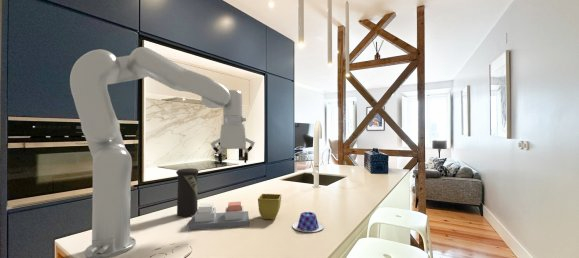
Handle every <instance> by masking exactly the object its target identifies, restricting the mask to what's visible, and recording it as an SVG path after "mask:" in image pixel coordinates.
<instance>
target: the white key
mask: <svg viewBox="0 0 579 258" xmlns="http://www.w3.org/2000/svg"><path fill="white" fill-rule="evenodd" d="M213 208H214V202H208V203H207V202H206V203H199V205H198V213H213Z"/></svg>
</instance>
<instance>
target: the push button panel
mask: <svg viewBox="0 0 579 258" xmlns="http://www.w3.org/2000/svg"><path fill="white" fill-rule="evenodd" d="M244 210H245V209H244V205H241V211H231V212H228V206H226V207H225V212H217V207H213V213H198V210H197V212H196V213H195V214H194V215H193V216H191V219H190V220H189V222H188V224H187V231H197V230H210V229H226V228H238V227H239V228H240V227H250V218H249V211H248V210H247V211H246V210H245V211H244Z"/></svg>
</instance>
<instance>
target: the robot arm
mask: <svg viewBox="0 0 579 258" xmlns="http://www.w3.org/2000/svg"><path fill="white" fill-rule="evenodd" d="M145 78H150V79H152V80H154V81H156V82H158V83H160V84H162V85H164V86H166V87H168V88H170V89H171V90H175V91H179V92H187V93H192V94H195V95H197V96H200V97H201V98H200V99H201V103H202V104H203V105H204V106H205V107H206V108H209V109H219V108H221V109H222V114H223V115H222V116H223V120H222V121H223V123H222V124H221V125H220V133H219V134H220V135H219V137H220V138H218V139H216V140H214V141H212V142H211V143H210V146H211V147H212V149H213V150H214V151H215V153H217V162H218V163H219V164H220V165H222V164H223V151H224V150H236V149H237V150H238V149H243V151H244V154H243V156H244V157H243V158H244V159H243V161H244V163H245V164H247V161H249V152H250V151H252V149H253V147H254V146H255V141H254V140H251V139H249V138H247V136H246V128H245V124H244V122H247V119H246V117H243V94H242V92H241V91H240V90H238V89H237V90H236V89H228V88H227V87H225V86H224V85H223V84H222V83H220V82H218V81H216V80H214V79H213V78H211V77H208V76H206V75H203V74H201V73H199V72H198V73H197V72H196V71H193V70H191V69H187V68H184V66H181V65H179V64H178V63H176V62H174V61H173V60H171V59H168V58H167V57H165V56H164V55H162V54H160V53H158V52H156V51H155V50H152V49H150V48H148V47H144V46H140V47H137V48H135V49H133V50H132V51H131V53H130V54H129V55H123V56H116V55H115V54H114V53H112V52H111V51H109V50H106V49H101V48H100V49H93V50H90V51H88V52H86V53H85V54H83V55H82V56H80V57H79V58H77V60H76V61H75V63H74V64H73V66H72V68H71V71H70V76H69V86H70V92H71V95H72V98H73V101H74V106H75V109H76V112H77V114H78V118H79V122H80V125H81V126H80V127H81V131H82V133H83V135H84V137H85V141H86V143H87V146H88V149H89V151H90V154H91V157H92V198H91V199H92V211H91V212H92V216H91V218H92V219H91V220H92V221H91V225H92V226H91V244H90V245H89V246H87V247H86V248H85V250H84V255H85V257H87V258H108V257H113V256H117V255H120V254H122V253H125V252H128V251H130V250H131V249H132V248H134V247H135V246H136V245H137V244H136V243H137V242H136V241H137V240H136V238H135V237H132V236H131V193H132V191H131V190H132V189H131V185H132V184H131V183H132V181H131V180H132V172H133V160H132V159H133V158H132V155H131V154H130V152H129V151H128V150H127V148H126V146H125V142H124V140H123V136H122V133H121V129H120V127H121V125H120V121H119V119H118V118H117V115H116V112H115V109H114V107H113V104H112V100H111V96H110V92H109V90H108V85H113V84H119V83H125V82H129V81H130V82H131V81H135V80H140V79H145ZM247 143H248V144H249V146H248V148H247V147H246V145H247ZM216 144H219V146H220V148H218V147H217V146H216Z"/></svg>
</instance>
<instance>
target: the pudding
mask: <svg viewBox="0 0 579 258" xmlns="http://www.w3.org/2000/svg"><path fill="white" fill-rule="evenodd" d="M292 228H293V229H294V230H296V231H300V232H305V233H315V232H319V231H321V230H323V229H325V226H324V224H323V223H322V222H321V221H318V218H317V214H316V213H315V212H311V211H303V212H301V213H300V215H299V220H297V221H295V222H294V223H292Z"/></svg>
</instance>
